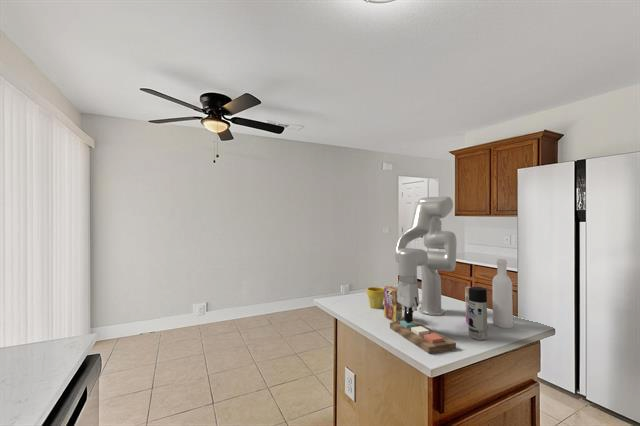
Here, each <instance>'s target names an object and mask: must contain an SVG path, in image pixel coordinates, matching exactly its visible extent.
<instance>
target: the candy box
mask: <svg viewBox="0 0 640 426" xmlns="http://www.w3.org/2000/svg"><path fill="white" fill-rule="evenodd" d="M383 288H384V301H383V308H384V309H383V313H384V314H383V317H384V318H386V319H387V320H388V319H389V320H390V321H392V322H399V321H403V306H402V305H401V304H400V303H398V301H397V288H398V286H397V287H396V286H393V285H384V287H383Z"/></svg>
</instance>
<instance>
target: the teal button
mask: <svg viewBox="0 0 640 426" xmlns="http://www.w3.org/2000/svg"><path fill="white" fill-rule="evenodd" d="M400 325H402V326H403V327H405V328H411V327H417V324H416V323H415V322H413V321H412V322H406V321H404V320H402V321H400Z"/></svg>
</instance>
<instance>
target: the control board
mask: <svg viewBox="0 0 640 426" xmlns="http://www.w3.org/2000/svg"><path fill="white" fill-rule="evenodd" d="M413 322H415V323H416V324H417V327H419V326H422V327H424V328H426V329H427V330H429V334H433V333H435V334H437V335H439V336H440V337H442V338H443V340H444V342H441V343H434V344H432V343H430V342H428V341H427V340H425V339H424V335H419V336H418V335H417V334H415V333H413V332H412V331H411V328H405V327H403V326H402V325H400V321H399V322H395V321H392V322H389V329H390V330H392V331H394V332H395V333H397V334H398V335H399V336H401V337H403V338H404V339H406V340H407V341H409V342H410V343H412V344H413V345H415V346H417V347H418V348H419V349H421V350H423V351H424V352H426V353H427V354H428V355H431V354H438V353H442V352H448V351H454V350H457V342H455V341H453V340H452V339H450V338H448V337H446V336H444V335H443V334H440V333H438V332H437V331H435V330H433V329H431V328H429V327H427V326H425V325H423V324H421V323H420V322H418V321H416V320H414V319H413Z"/></svg>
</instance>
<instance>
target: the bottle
mask: <svg viewBox="0 0 640 426" xmlns="http://www.w3.org/2000/svg"><path fill="white" fill-rule="evenodd" d="M496 260H497V261H496V264H497V265H496V266H497V269H496V270H497V274H496V275H494V276H493V278H492V281H491V282H492V283H491V286H492V290H491V291H492V324H493V326H495V327H499V328H502V329H512V328H514V317H513V308H514V307H513V282H512V280H511V278H510V277H509V276H508V274H507V271H508V269H507V265H508V263H507V259H503V258H497V259H496Z"/></svg>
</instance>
